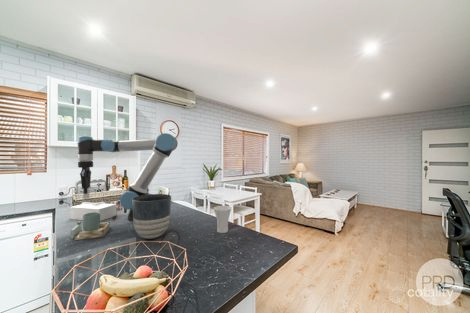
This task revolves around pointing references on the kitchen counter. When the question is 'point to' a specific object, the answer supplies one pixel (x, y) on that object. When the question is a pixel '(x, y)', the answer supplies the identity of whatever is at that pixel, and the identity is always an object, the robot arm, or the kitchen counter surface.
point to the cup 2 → (222, 218)
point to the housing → (94, 232)
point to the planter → (151, 214)
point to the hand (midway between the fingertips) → (86, 198)
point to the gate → (76, 230)
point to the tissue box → (93, 210)
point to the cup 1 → (91, 221)
